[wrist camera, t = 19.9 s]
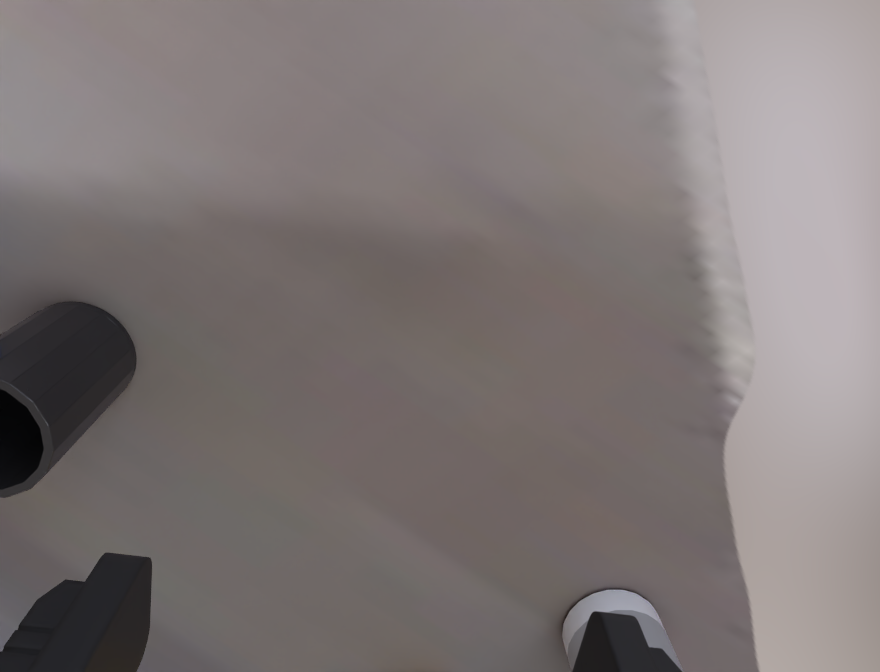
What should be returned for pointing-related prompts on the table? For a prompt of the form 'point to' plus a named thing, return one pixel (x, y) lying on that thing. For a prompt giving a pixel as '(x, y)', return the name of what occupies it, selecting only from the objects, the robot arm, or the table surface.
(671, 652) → the spray bottle
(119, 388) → the bin
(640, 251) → the table surface
